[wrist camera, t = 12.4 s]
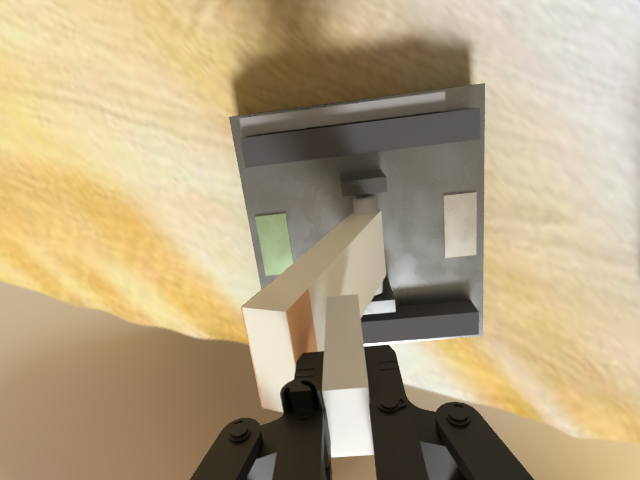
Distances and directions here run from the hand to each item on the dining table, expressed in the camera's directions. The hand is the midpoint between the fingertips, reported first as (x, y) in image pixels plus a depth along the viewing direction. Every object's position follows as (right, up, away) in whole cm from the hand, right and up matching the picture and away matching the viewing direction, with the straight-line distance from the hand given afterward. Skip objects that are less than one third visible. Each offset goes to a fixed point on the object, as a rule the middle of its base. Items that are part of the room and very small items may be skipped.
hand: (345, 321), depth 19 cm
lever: (+2, +3, +9) cm, 10 cm away
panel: (+2, +5, +15) cm, 16 cm away
